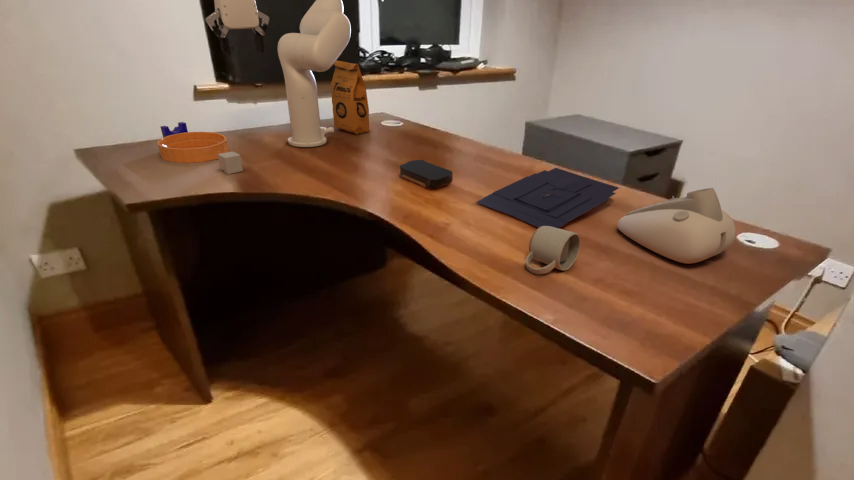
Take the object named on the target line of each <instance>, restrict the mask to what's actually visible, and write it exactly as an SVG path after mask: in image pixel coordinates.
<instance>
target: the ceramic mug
mask: <svg viewBox="0 0 854 480" xmlns="http://www.w3.org/2000/svg"><path fill="white" fill-rule="evenodd" d="M580 248H581V237H580V235H579V234H578V233H577V232H574V231H571V230H566V229H562V228H555V227H551V226H541V227H537V228H536V229H535V230H534V232H533V233H532V235H531V237H530V239H529V243H528V251H529V253H528V255H527V256H526V259H525V265H526V269H527V271H529V272H530V273H531V274H534V275H544V274H547V273H549V272H551V271H552V270H554V269H557V270H559V271H562V272H565V271H568V270H569V269H570V268H571V267H572V266H573V265H574V263H575V262H576V260H577V258H578V255H579V252H580ZM533 259H534V260H536V261H538V262H540V263H541V264H545V266H543V267H538V268H537V267H533V266H532V265H531V264H530V263H531V261H532V260H533Z"/></svg>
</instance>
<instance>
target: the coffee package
mask: <svg viewBox="0 0 854 480" xmlns="http://www.w3.org/2000/svg"><path fill="white" fill-rule="evenodd" d="M333 65H334V68H335V69H334V72H333V74H332V80H331V82H330V93H331V104H332V116H333V124H334V125H333V128H336V129H338V130H342V131H345V132H347V133H350V134H351V133H352V134H354V135H358V134H363V133H368V132H370V108H369V101H368V100H369V99H368V95H367V87H366V86H365V85H366V84H365V80H364V78H363V75H362V72H361V69H360V66H359V64H358V63H351V62H347V61H341V60H336V61H335V62H334V64H333Z"/></svg>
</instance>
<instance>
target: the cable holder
mask: <svg viewBox="0 0 854 480" xmlns="http://www.w3.org/2000/svg"><path fill="white" fill-rule="evenodd" d="M160 131H161V134H162V138H163V137H166V136H169V135H173V134H179V133H186V132H189V131H188V127H187V123H186V122H184V121H180V122H179V121H178V122H177V126H174V128H173V129H172V130H171V129H170V128H169V126H167V125H161V126H160Z"/></svg>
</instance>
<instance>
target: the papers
mask: <svg viewBox="0 0 854 480" xmlns="http://www.w3.org/2000/svg"><path fill="white" fill-rule="evenodd" d="M618 189H620V187H618V186H616V185H613V184H609V183H606V182H602V181H599V180H595V179H592V178H589V177H585V176H582V175H579V174H576V173H574V172H571V171H568V170H564V169H561V168H558V167H554V168H552V169H550V170H546V169H544V170H542V171H539V172H537V173H536V172H535V173H532V174H530V175H529V176H525V177H523V178H520V179H518V180H516V181H514V182H512V183H510V184H508V185H506V186H504V187H502V188H499V189H497V190H495V191H493V192H491V193H490V194H488V195H486V196H484V197H483V198H481V199H479V200H477V201H476V203H477V204H479V205H482V206H485V207H487V208H490V209H493V210H495V211H498V212H501V213H503V214H506V215H509V216H511V217H514V218H516V219H518V220H521V221H523V222H525V223H527V224H530V225H532V226H534V227H537V228H539V227H541V226H551V227H555V228H559V229H561V227H564V226H565V225H566V224H568V223H570V222H571V221H573V220H574V219H576V218H578V217H580V216H582V215H583V214H585V213H587V212H588V211H590V210H592V209H593V208H595V207H597V206H599V205H601V204H603V203H605V202H607V201H608V200H609V199H611V197H612V196H615V195H616V194H617V193H616V192H615V191H617V190H618Z"/></svg>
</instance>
